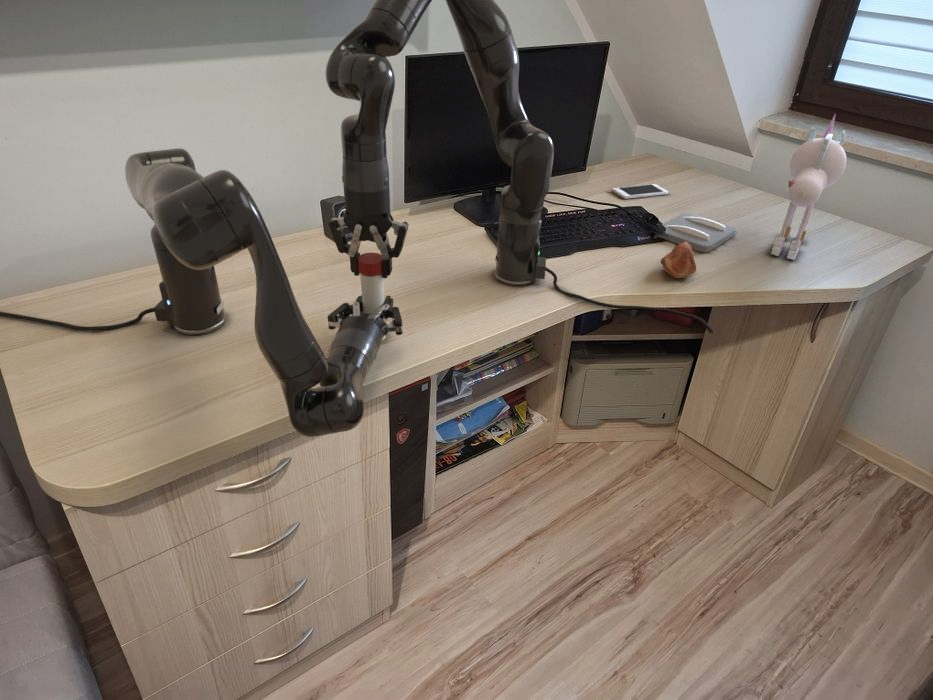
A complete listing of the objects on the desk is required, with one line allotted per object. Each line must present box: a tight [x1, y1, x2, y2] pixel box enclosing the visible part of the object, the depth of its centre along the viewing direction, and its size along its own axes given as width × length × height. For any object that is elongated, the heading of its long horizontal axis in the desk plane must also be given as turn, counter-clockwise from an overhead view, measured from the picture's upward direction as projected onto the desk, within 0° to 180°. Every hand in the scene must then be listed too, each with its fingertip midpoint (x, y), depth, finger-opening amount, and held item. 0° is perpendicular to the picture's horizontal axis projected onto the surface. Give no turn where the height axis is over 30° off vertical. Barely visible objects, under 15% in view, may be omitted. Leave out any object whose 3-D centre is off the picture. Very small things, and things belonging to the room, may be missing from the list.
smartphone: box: [611, 183, 669, 200], centre depth 193 cm, size 7×15×1 cm, turn 111°
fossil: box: [660, 241, 697, 279], centre depth 147 cm, size 13×8×10 cm
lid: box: [358, 252, 383, 276], centre depth 113 cm, size 5×5×2 cm
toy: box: [770, 112, 847, 261], centre depth 159 cm, size 12×36×30 cm, turn 148°
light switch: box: [654, 212, 737, 253], centre depth 167 cm, size 18×3×15 cm
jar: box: [359, 273, 387, 341], centre depth 118 cm, size 4×4×16 cm
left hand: (376, 299), depth 120 cm, fingers closed on jar, 4 cm apart
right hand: (371, 274), depth 115 cm, fingers closed on lid, 4 cm apart
